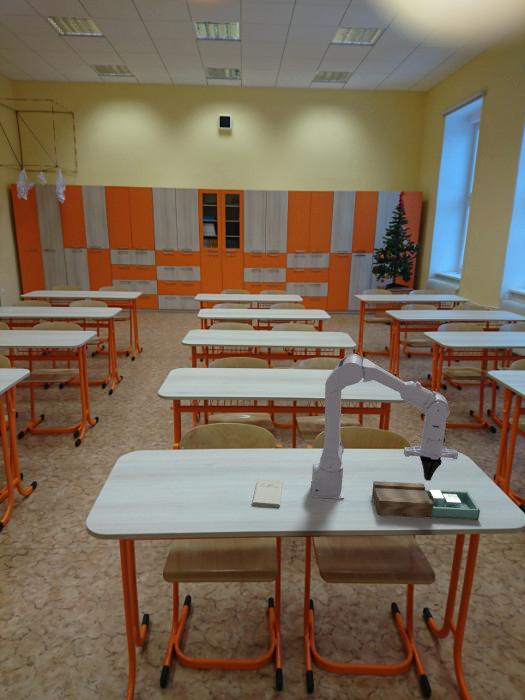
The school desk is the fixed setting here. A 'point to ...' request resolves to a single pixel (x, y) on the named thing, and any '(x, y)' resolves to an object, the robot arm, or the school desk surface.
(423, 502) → the channel block
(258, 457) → the school desk surface
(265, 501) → the external hard drive
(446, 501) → the light grey block
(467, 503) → the tray
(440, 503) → the grey square block
